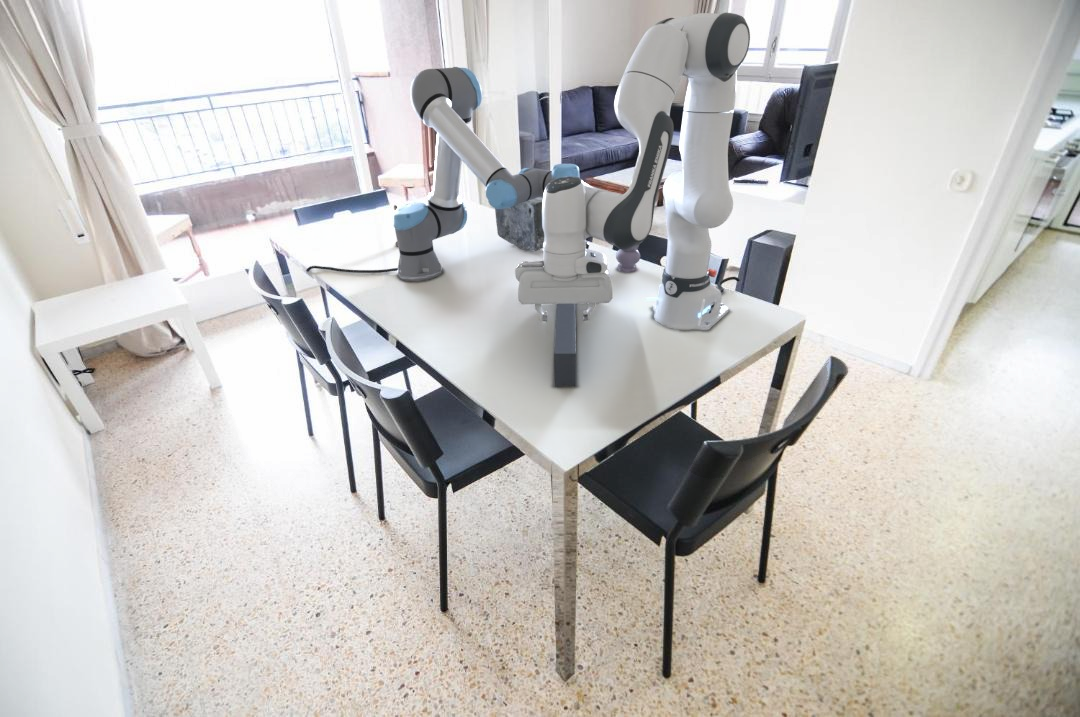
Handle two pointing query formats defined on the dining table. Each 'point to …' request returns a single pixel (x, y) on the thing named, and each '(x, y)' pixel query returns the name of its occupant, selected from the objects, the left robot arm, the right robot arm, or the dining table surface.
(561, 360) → the beam
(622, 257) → the cat figurine
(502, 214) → the concrete block
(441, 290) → the dining table surface
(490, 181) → the left robot arm
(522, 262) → the right robot arm
